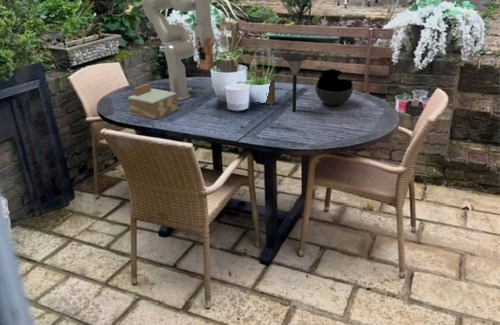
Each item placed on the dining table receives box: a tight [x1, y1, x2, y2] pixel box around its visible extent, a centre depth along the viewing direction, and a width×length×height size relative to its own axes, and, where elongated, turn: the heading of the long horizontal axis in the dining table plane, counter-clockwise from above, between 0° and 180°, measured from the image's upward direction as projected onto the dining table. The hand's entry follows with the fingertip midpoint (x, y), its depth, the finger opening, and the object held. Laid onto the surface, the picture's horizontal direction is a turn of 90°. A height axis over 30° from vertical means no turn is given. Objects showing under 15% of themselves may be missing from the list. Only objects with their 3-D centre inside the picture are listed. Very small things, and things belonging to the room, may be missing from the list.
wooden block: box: [255, 69, 276, 105], centre depth 247 cm, size 4×11×18 cm, turn 60°
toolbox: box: [128, 95, 179, 121], centre depth 241 cm, size 18×18×8 cm
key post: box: [198, 37, 214, 71], centre depth 232 cm, size 5×5×16 cm
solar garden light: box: [282, 53, 308, 113], centre depth 230 cm, size 12×12×30 cm
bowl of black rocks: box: [315, 68, 354, 106], centre depth 241 cm, size 20×20×19 cm
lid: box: [127, 83, 177, 104], centre depth 238 cm, size 18×18×5 cm
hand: (206, 58), depth 233 cm, fingers closed on key post, 5 cm apart
